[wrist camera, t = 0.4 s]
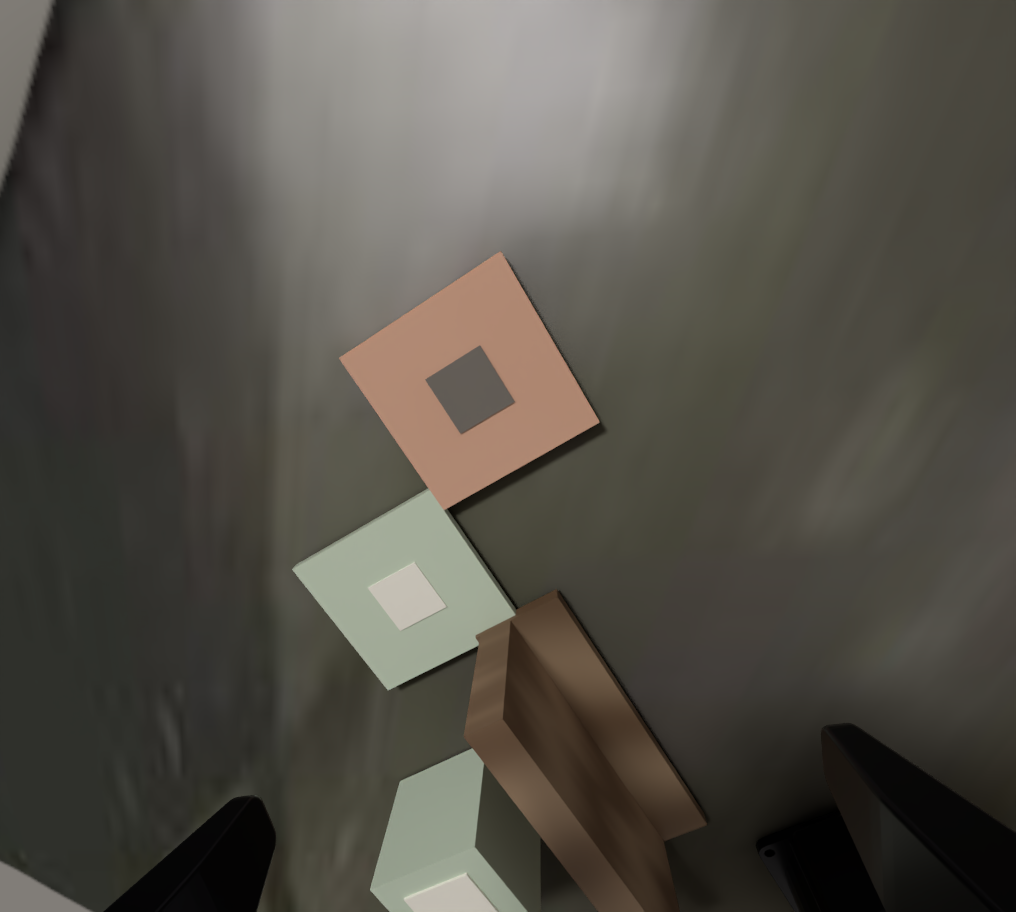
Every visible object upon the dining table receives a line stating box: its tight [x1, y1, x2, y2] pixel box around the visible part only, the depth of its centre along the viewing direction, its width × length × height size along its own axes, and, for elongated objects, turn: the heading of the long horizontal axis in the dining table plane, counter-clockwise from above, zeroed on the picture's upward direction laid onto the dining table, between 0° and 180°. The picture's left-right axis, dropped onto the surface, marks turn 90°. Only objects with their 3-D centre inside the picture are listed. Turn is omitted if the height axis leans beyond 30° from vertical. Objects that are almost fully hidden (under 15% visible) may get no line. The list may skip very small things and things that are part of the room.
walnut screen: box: [464, 589, 707, 912], centre depth 22 cm, size 14×4×6 cm, turn 32°
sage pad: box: [292, 488, 516, 690], centre depth 23 cm, size 7×7×1 cm
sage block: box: [370, 748, 541, 912], centre depth 24 cm, size 5×5×5 cm
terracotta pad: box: [339, 251, 600, 510], centre depth 20 cm, size 7×7×1 cm
